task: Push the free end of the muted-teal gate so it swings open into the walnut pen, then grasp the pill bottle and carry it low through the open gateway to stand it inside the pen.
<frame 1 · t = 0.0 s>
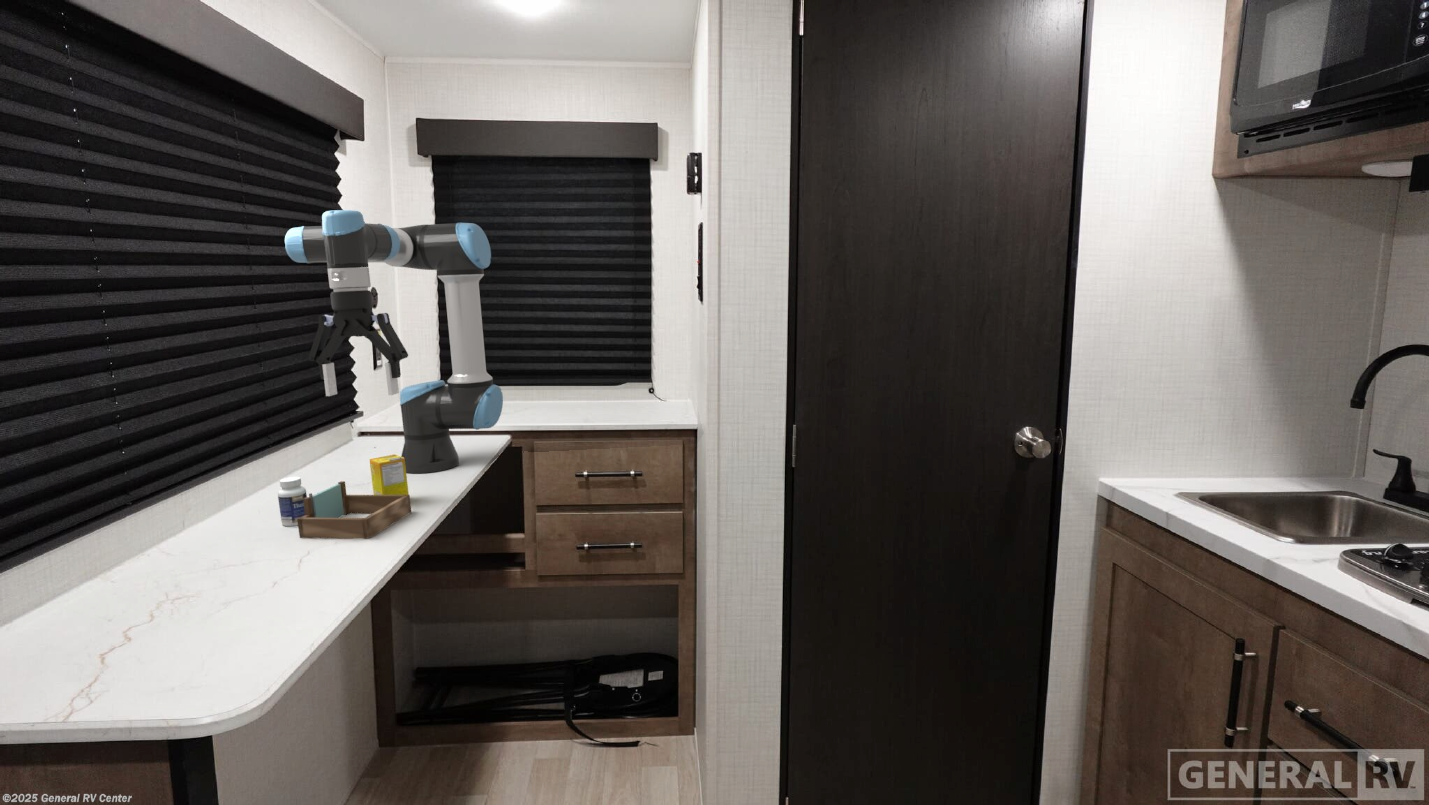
hand: (362, 394, 159), 28 cm above the counter, fingers open, 13 cm apart
pill bottle: (296, 523, 168), on the counter
supplement box: (392, 505, 180), on the counter
pen: (358, 524, 165), on the counter
gate: (327, 505, 167), point 4 cm above the counter, hinge at 0.0°
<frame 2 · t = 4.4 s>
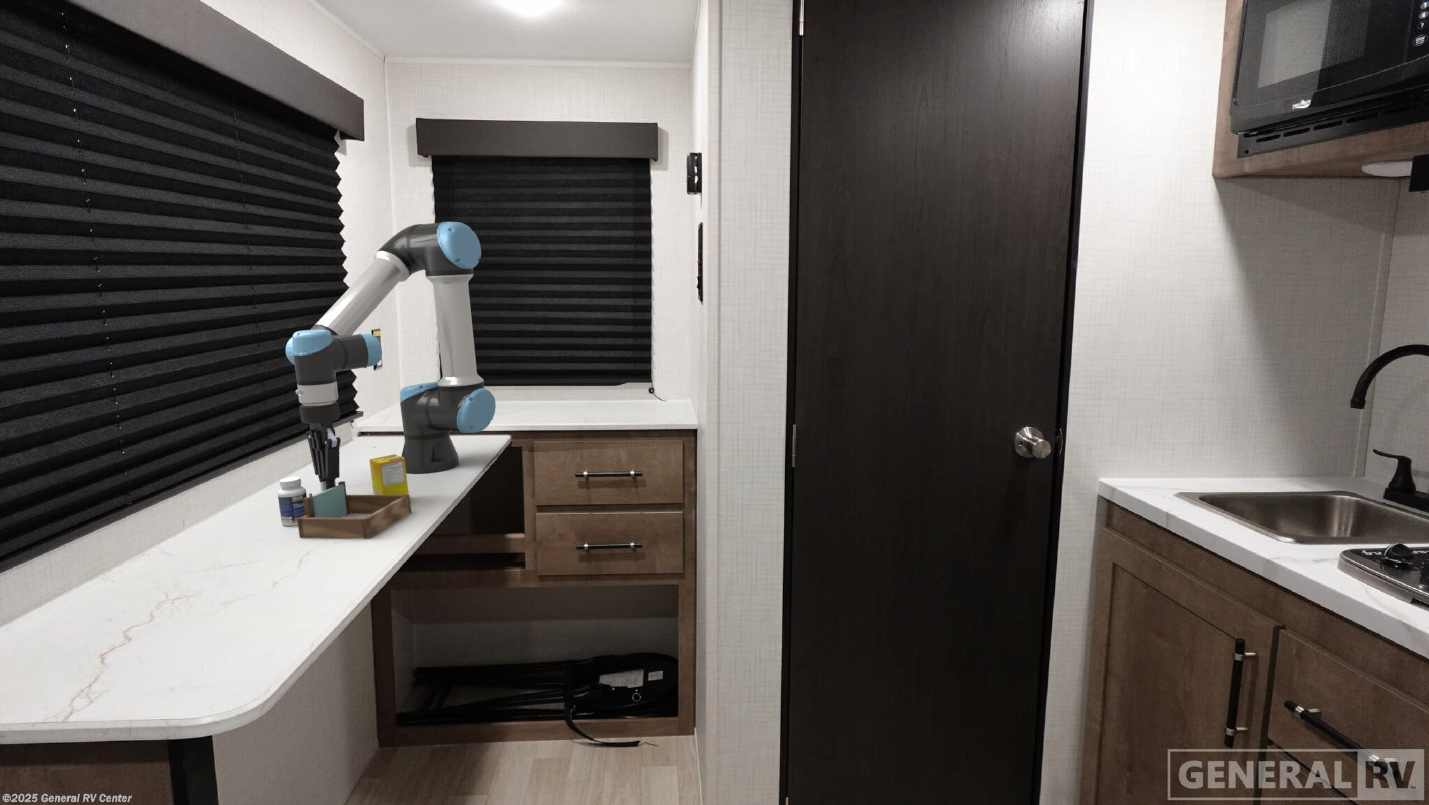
hand: (330, 508, 171), 2 cm above the counter, fingers closed
gate: (329, 505, 166), point 4 cm above the counter, hinge at 4.6°, touching gripper
everything else where it was.
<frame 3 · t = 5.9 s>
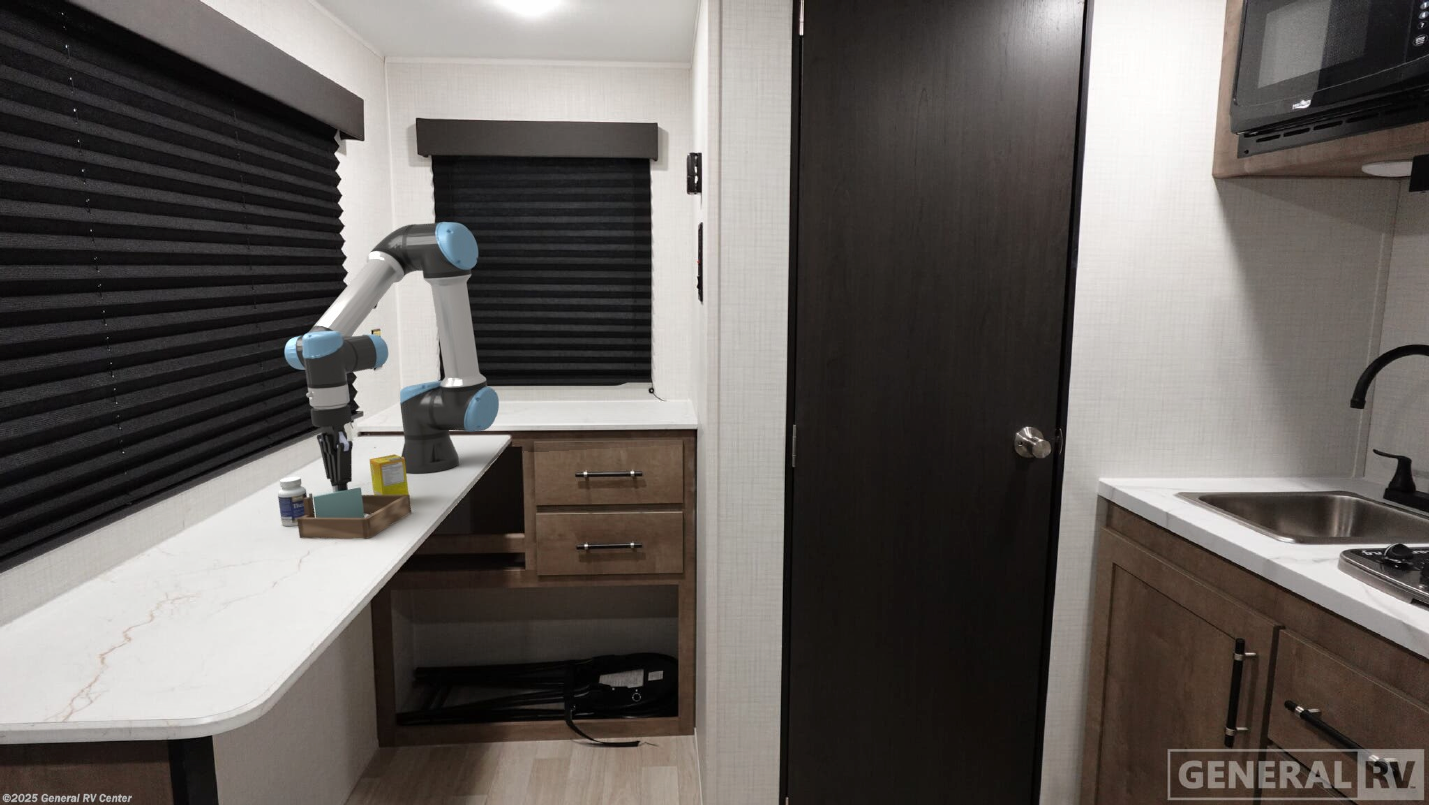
hand: (343, 512, 168), 2 cm above the counter, fingers closed
gate: (339, 508, 165), point 4 cm above the counter, hinge at 44.1°, touching gripper
everything else where it was.
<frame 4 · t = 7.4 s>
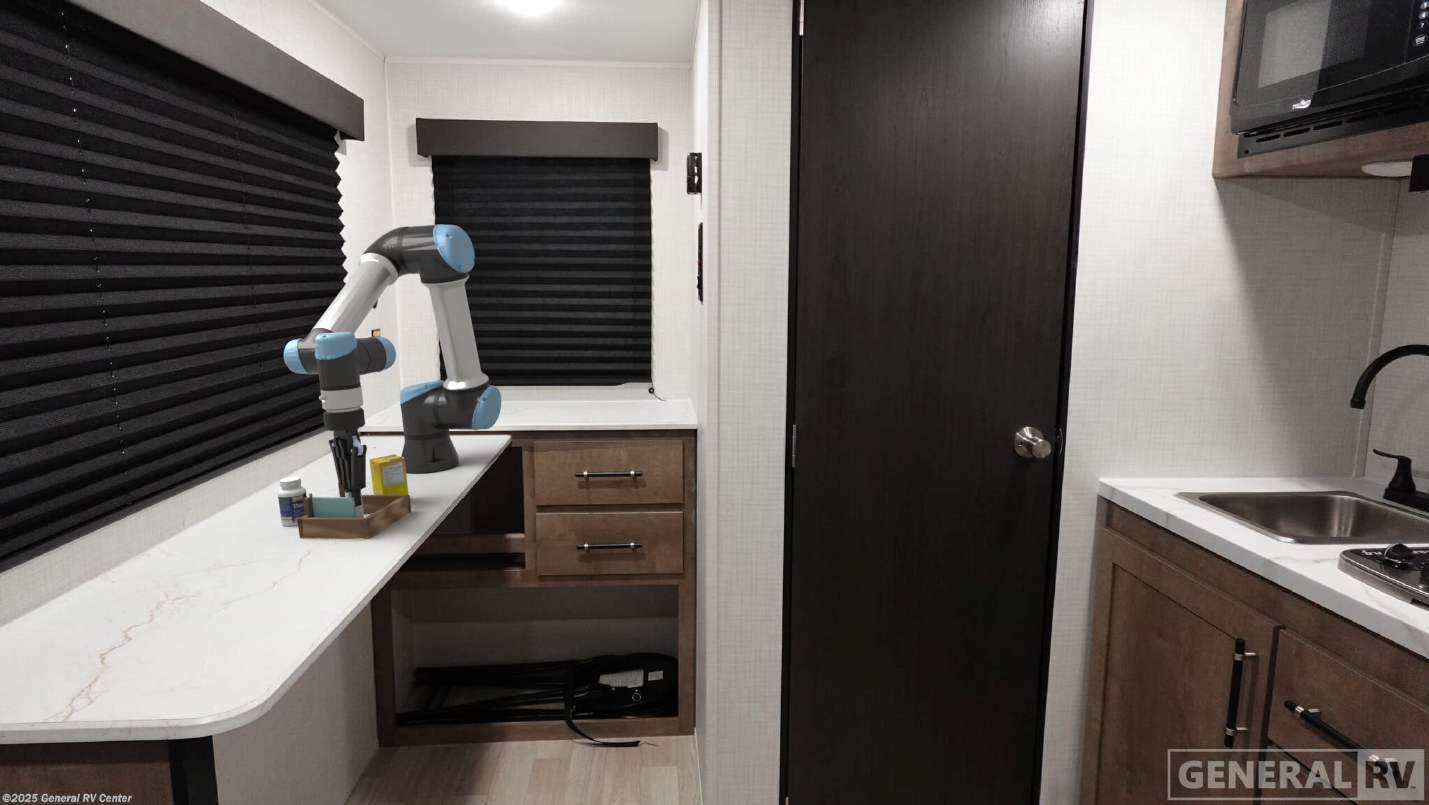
hand: (356, 520, 162), 2 cm above the counter, fingers closed
gate: (334, 514, 161), point 4 cm above the counter, hinge at 93.5°, touching gripper
everything else where it was.
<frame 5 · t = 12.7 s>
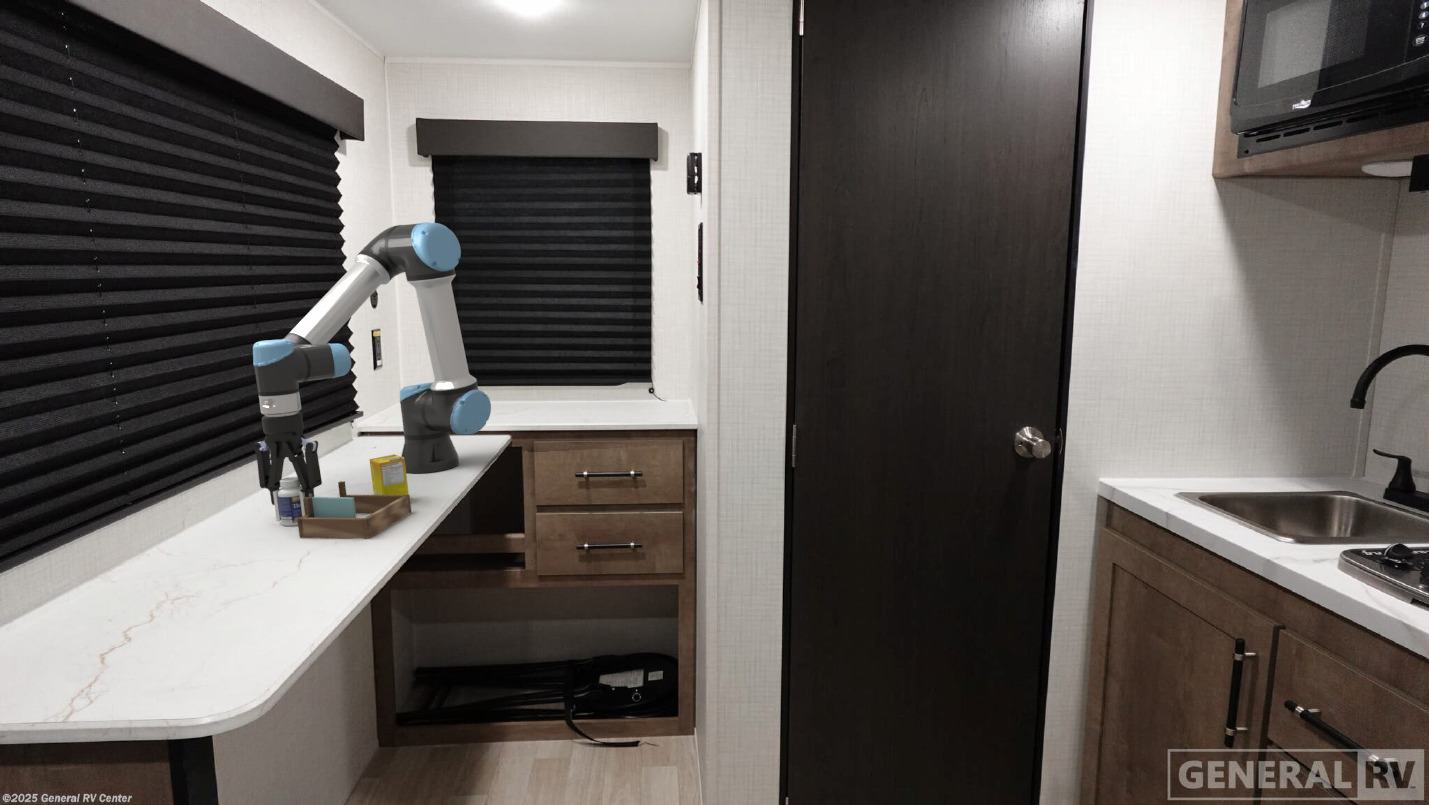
hand: (295, 518, 168), 1 cm above the counter, fingers closed on pill bottle, 5 cm apart
pill bottle: (296, 523, 168), on the counter, touching gripper
gate: (334, 514, 161), point 4 cm above the counter, hinge at 93.6°
everything else where it was.
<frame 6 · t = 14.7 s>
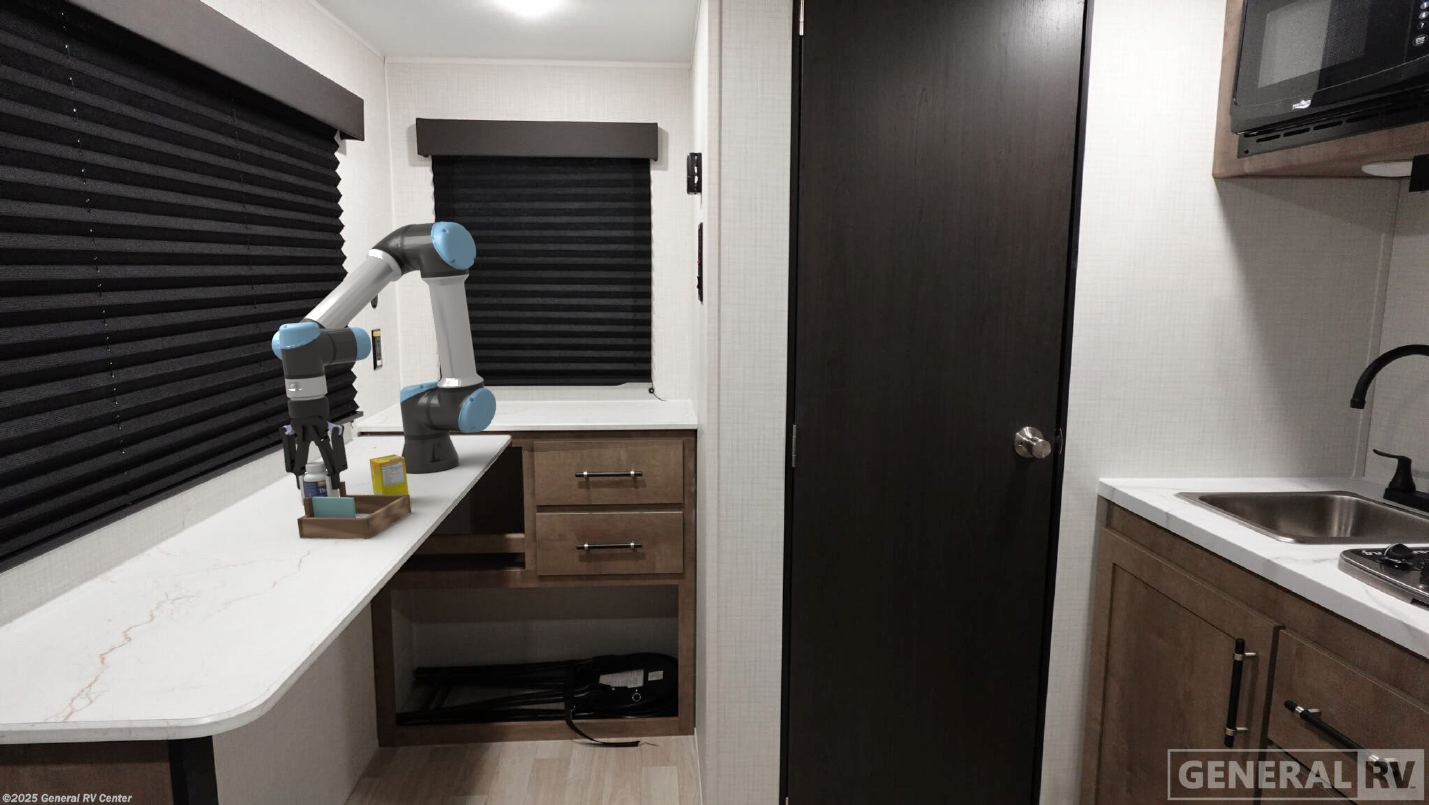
hand: (321, 503, 167), 4 cm above the counter, fingers closed on pill bottle, 5 cm apart
pill bottle: (321, 508, 167), point 3 cm above the counter, touching gripper
everything else where it was.
when the fingers open (3 cm above the counter, at t = 16.7 s): pill bottle drops 2 cm, resting in pen.
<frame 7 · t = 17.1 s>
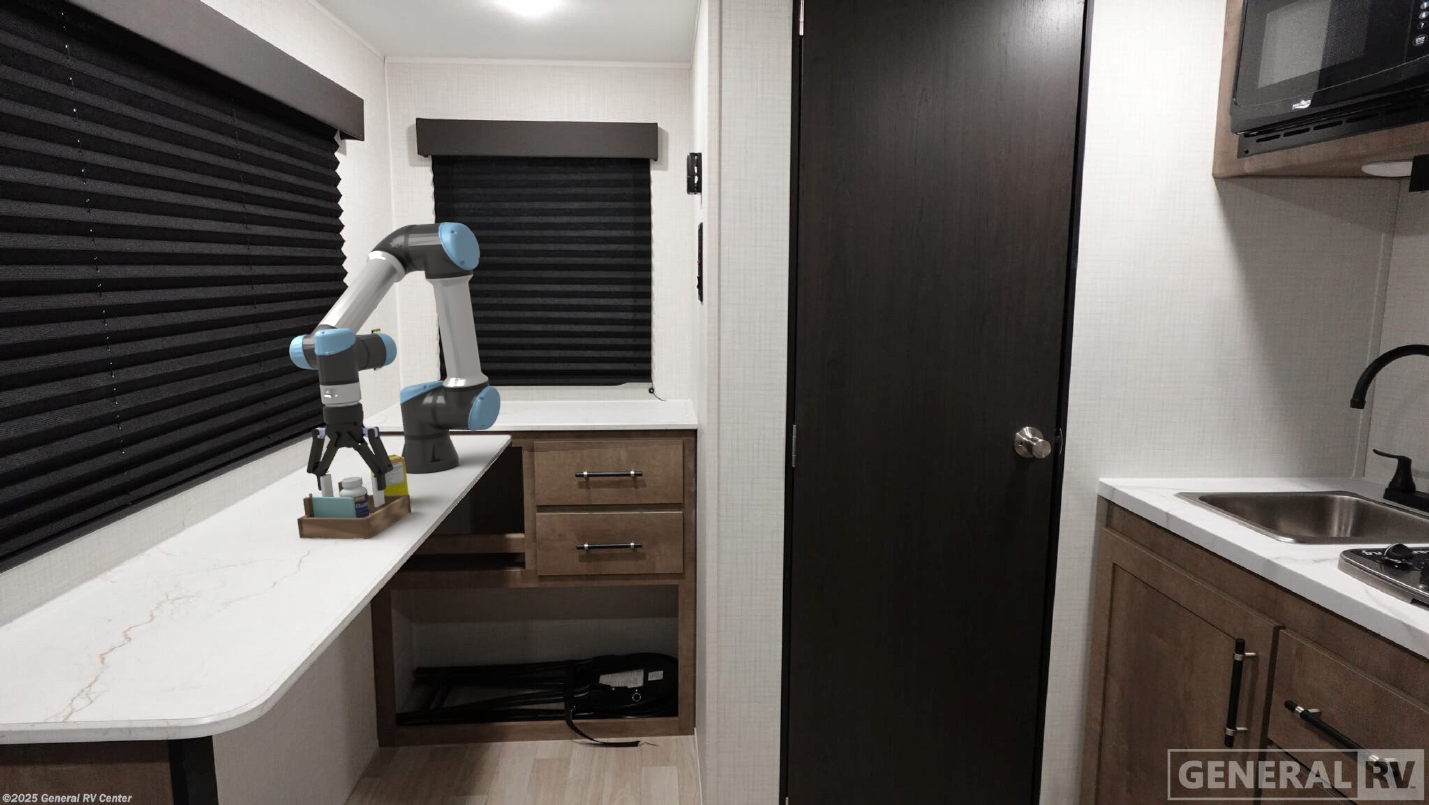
hand: (354, 505, 166), 4 cm above the counter, fingers open, 11 cm apart
pill bottle: (357, 523, 167), resting in pen
everything else where it was.
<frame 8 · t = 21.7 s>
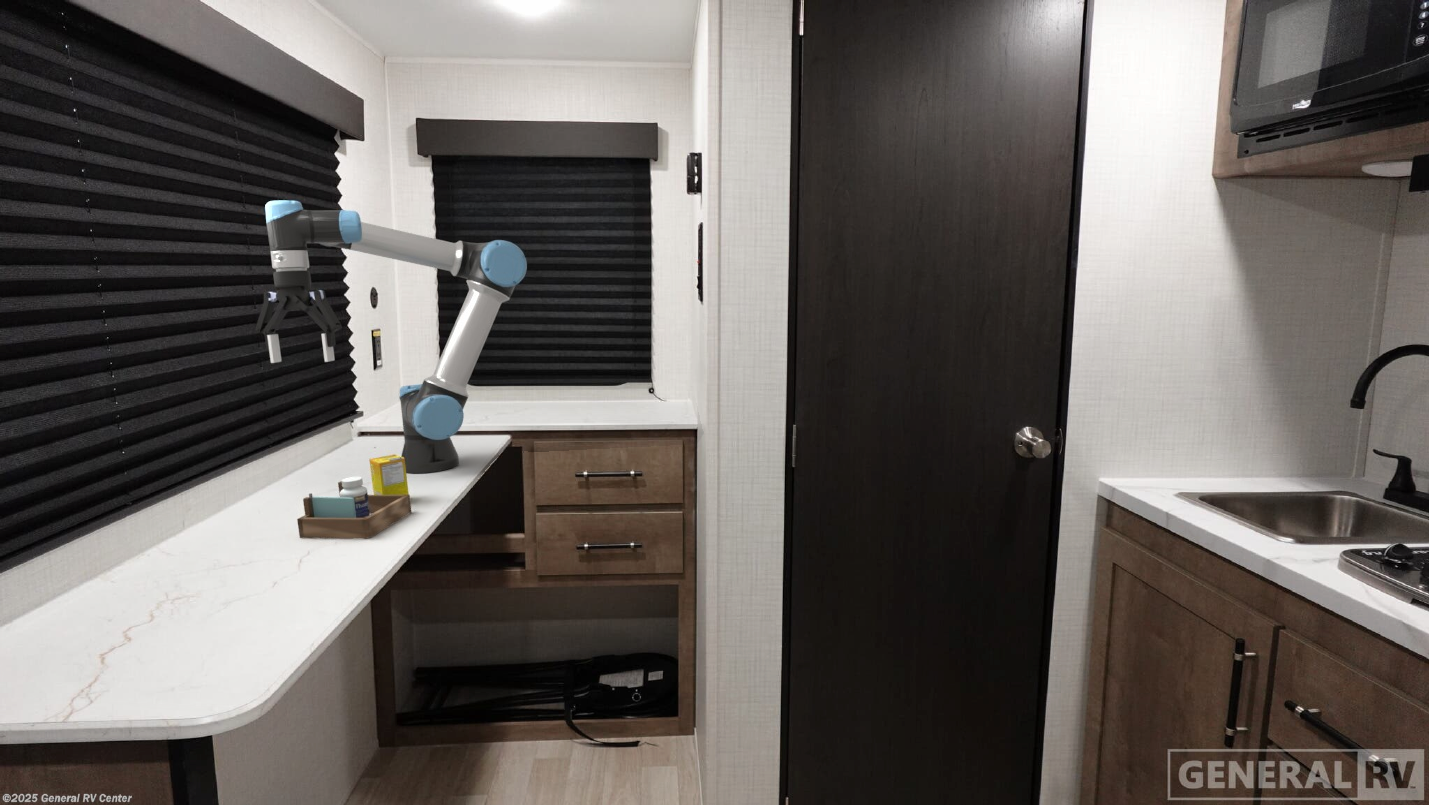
hand: (302, 361, 183), 33 cm above the counter, fingers open, 13 cm apart
nothing on the counter moved.
at the end: gate at +94° (first picture: +0°); pill bottle inside the target area (1.4 cm from its centre), resting in pen; pill bottle tilted 0° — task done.
